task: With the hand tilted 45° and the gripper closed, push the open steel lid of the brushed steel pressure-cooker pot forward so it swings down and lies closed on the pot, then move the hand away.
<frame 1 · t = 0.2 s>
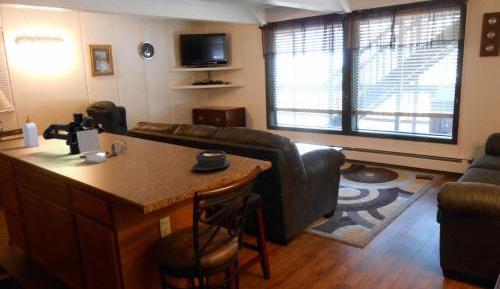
hand: (99, 131, 238), 16 cm above the table, tool horizontal, fingers open, 9 cm apart
tin: (119, 154, 248), on the table
casserole: (211, 168, 206), on the table
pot: (95, 161, 227), on the table
soap bottle: (32, 146, 282), on the table
lid: (88, 141, 231), point 12 cm above the table, hinge at 100.0°
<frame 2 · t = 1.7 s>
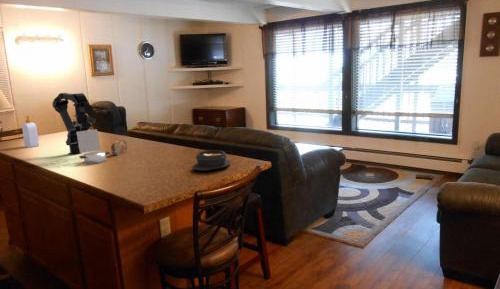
hand: (83, 137, 243), 12 cm above the table, tool pointing down, fingers open, 6 cm apart
nothing on the table moved.
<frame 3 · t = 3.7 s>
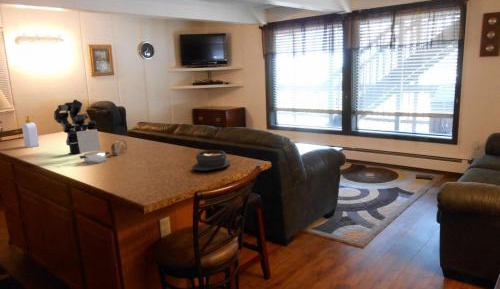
hand: (84, 136, 235), 14 cm above the table, tool tilted 45°, fingers closed
nothing on the table moved.
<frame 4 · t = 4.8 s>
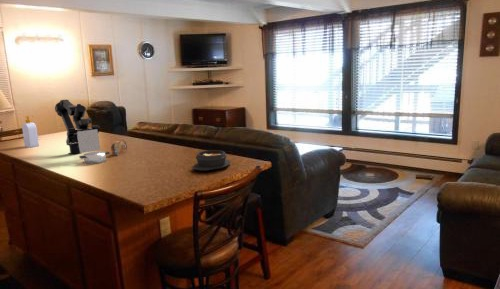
hand: (88, 141, 231), 11 cm above the table, tool tilted 45°, fingers closed
lid: (88, 141, 231), point 12 cm above the table, hinge at 98.9°
everything else where it was.
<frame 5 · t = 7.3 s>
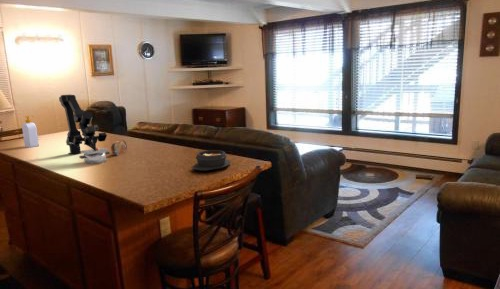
hand: (95, 149, 225), 8 cm above the table, tool tilted 45°, fingers closed, pressing on lid
lid: (94, 149, 225), point 7 cm above the table, hinge at 5.5°, touching gripper
everything else where it was.
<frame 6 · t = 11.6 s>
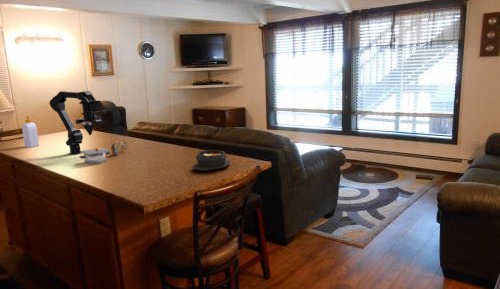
hand: (90, 135, 245), 13 cm above the table, tool pointing down, fingers closed
lid: (94, 150, 225), point 7 cm above the table, hinge at 3.8°
everything else where it was.
at the end: lid at +4° (first picture: +100°); tin moved 0.3 cm from its start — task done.
